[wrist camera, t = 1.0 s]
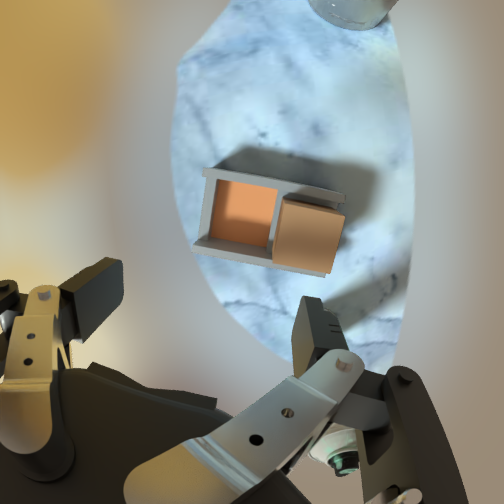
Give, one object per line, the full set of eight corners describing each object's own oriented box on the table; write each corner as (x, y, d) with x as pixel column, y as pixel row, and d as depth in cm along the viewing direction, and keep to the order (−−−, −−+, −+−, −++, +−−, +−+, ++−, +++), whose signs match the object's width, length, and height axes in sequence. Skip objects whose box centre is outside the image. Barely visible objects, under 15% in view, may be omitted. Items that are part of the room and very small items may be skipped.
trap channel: (212, 167, 27) (203, 167, 24) (335, 191, 27) (345, 195, 24) (201, 241, 30) (191, 252, 26) (318, 263, 30) (324, 277, 26)
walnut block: (282, 196, 26) (284, 203, 21) (332, 207, 26) (345, 216, 21) (272, 246, 28) (272, 263, 23) (320, 255, 27) (330, 273, 23)
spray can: (298, 305, 32) (319, 457, 12) (342, 308, 31) (398, 449, 12) (291, 343, 33) (300, 488, 14) (332, 345, 33) (367, 482, 14)
